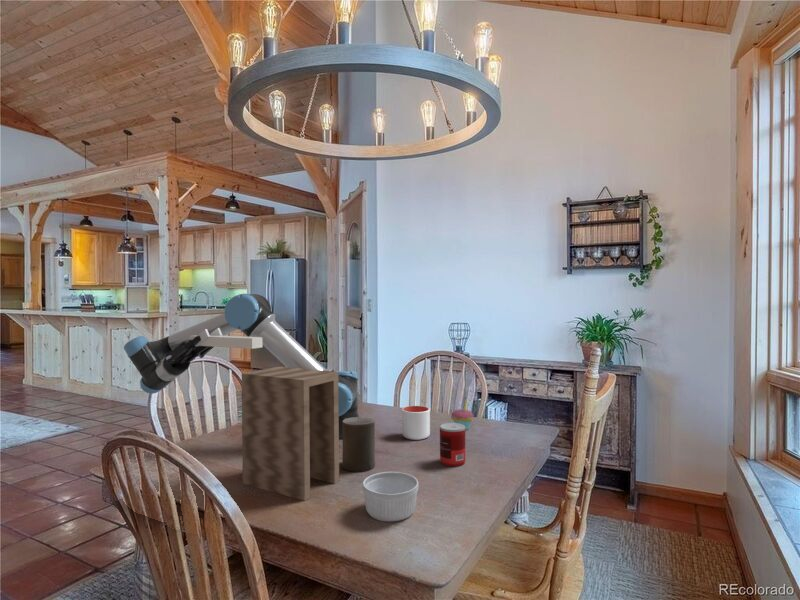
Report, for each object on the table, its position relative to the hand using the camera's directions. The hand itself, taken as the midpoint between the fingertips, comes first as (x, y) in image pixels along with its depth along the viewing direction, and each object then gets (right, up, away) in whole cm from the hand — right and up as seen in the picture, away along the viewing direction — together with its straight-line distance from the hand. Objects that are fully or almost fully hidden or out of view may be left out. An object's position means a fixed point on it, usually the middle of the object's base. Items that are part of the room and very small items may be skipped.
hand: (213, 332), depth 146 cm
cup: (+64, -39, +22) cm, 78 cm away
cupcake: (+82, -39, +32) cm, 97 cm away
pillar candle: (+46, -40, -7) cm, 61 cm away
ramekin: (+56, -40, -36) cm, 78 cm away
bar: (+4, -4, -2) cm, 6 cm away
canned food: (+75, -39, -5) cm, 85 cm away
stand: (+29, -40, -19) cm, 53 cm away
